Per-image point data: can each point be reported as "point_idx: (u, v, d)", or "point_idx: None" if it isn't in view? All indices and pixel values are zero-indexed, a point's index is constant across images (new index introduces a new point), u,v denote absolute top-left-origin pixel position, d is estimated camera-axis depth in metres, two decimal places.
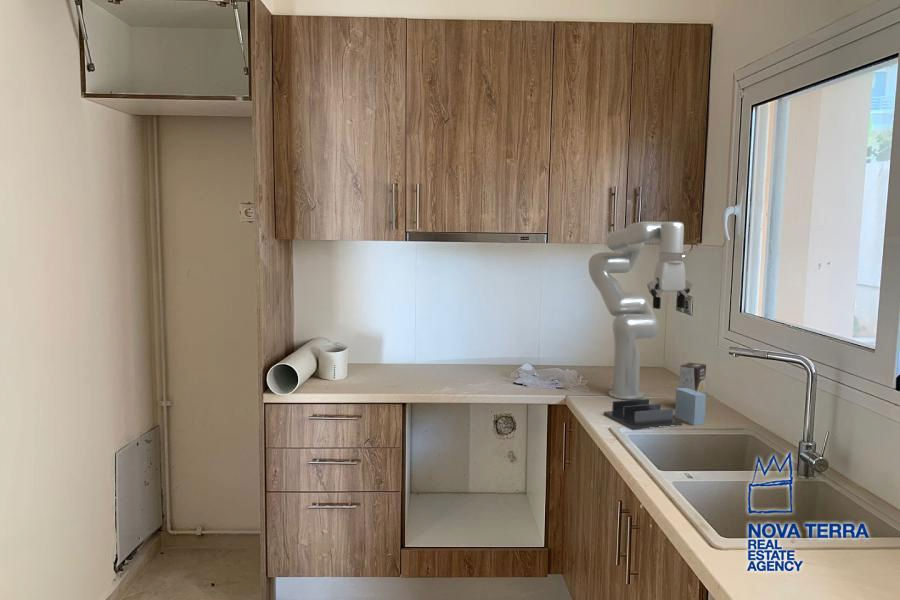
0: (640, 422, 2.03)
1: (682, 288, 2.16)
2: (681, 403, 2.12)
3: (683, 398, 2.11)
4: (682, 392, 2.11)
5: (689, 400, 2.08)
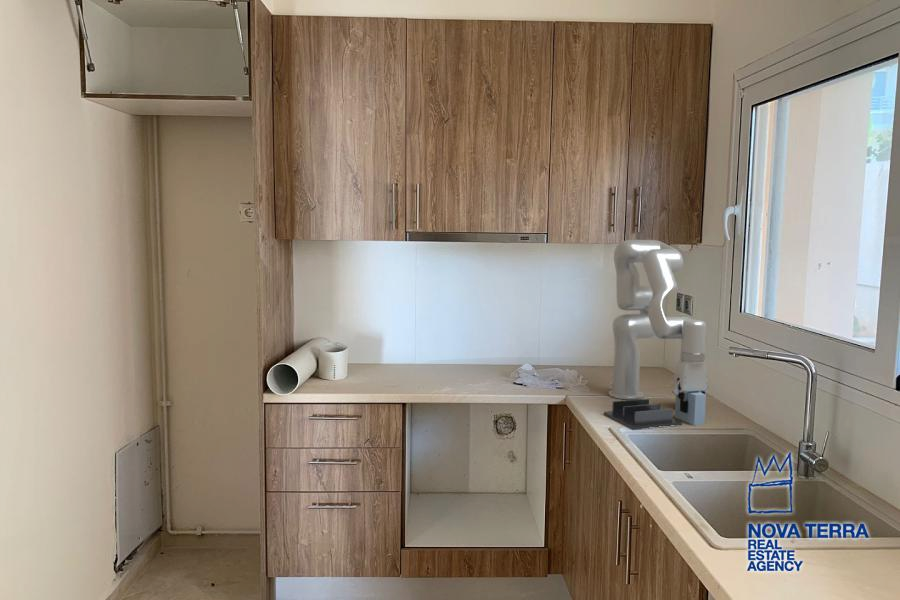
0: (640, 422, 2.03)
1: (704, 388, 2.09)
2: None
3: None
4: None
5: (689, 400, 2.08)
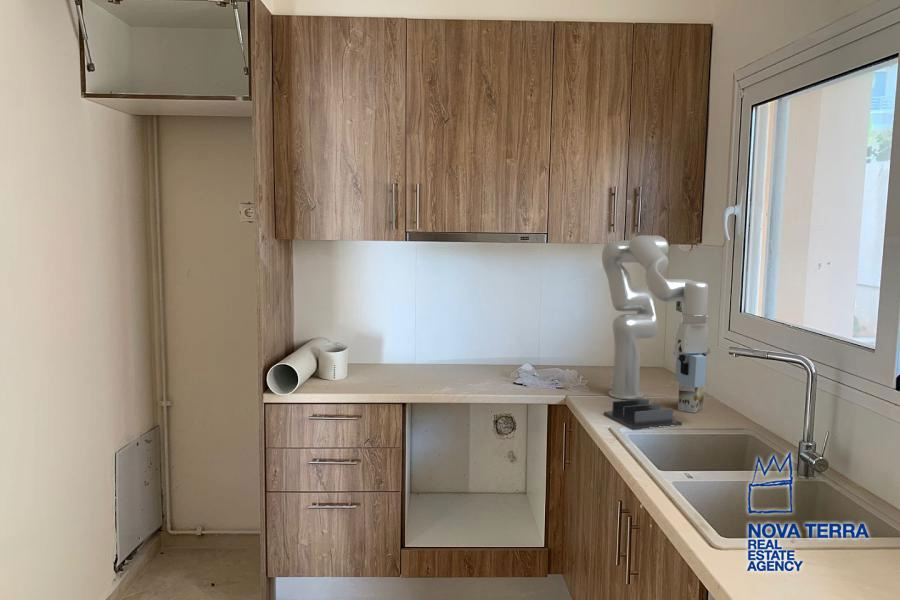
0: (640, 422, 2.03)
1: (705, 350, 2.08)
2: None
3: None
4: None
5: (690, 362, 2.07)
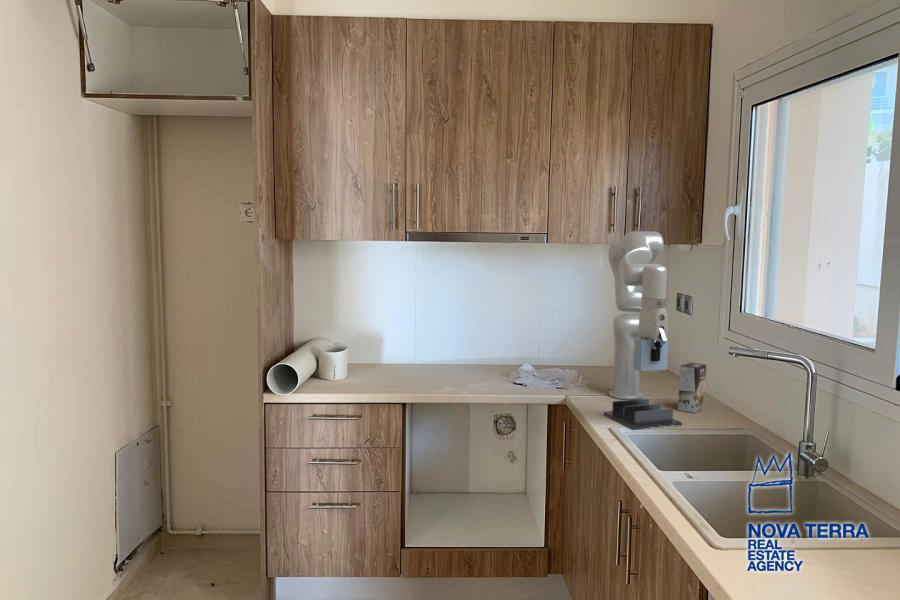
0: (640, 422, 2.03)
1: (653, 337, 2.02)
2: None
3: None
4: None
5: None
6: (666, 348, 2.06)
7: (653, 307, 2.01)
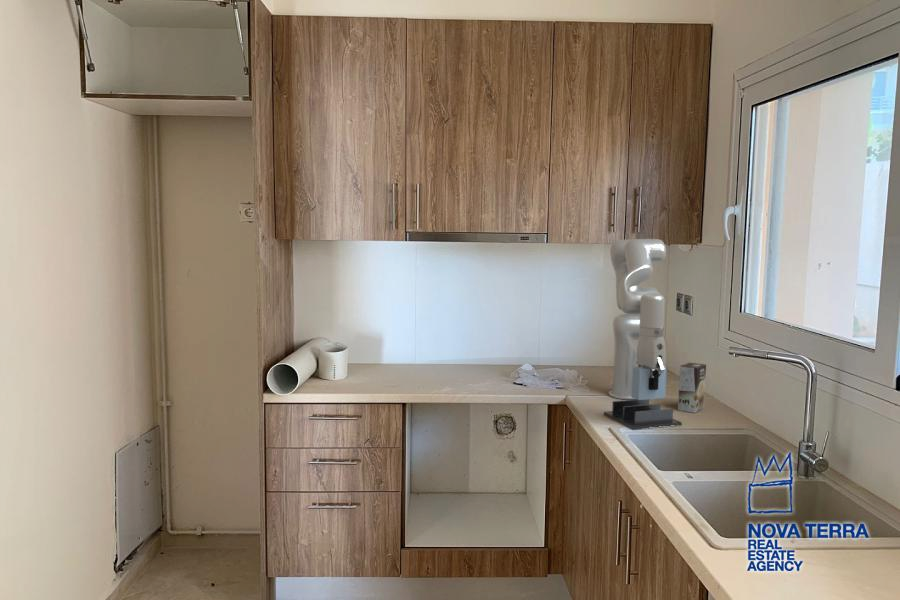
0: (640, 422, 2.03)
1: (651, 366, 2.02)
2: None
3: None
4: None
5: None
6: (664, 377, 2.06)
7: (651, 336, 2.02)
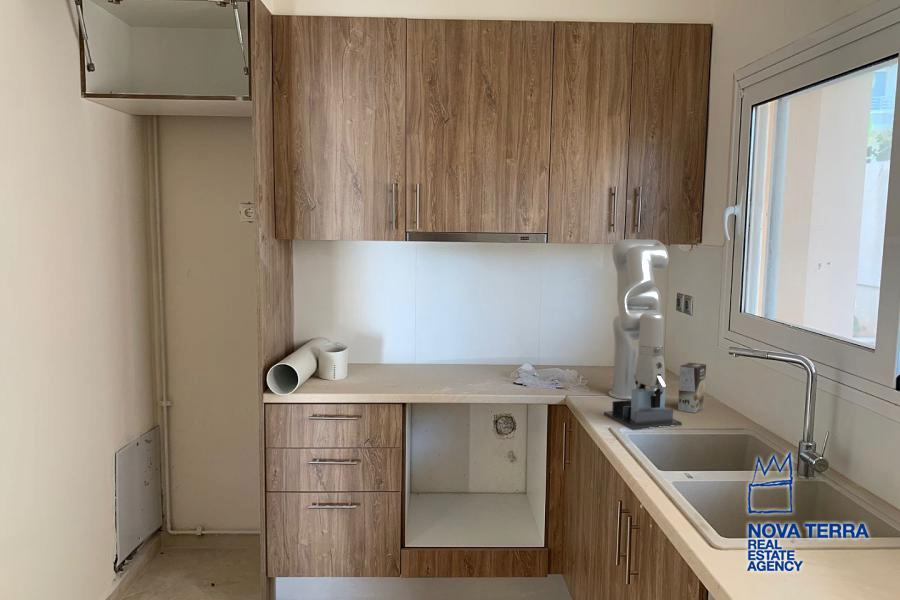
0: (640, 422, 2.03)
1: (650, 384, 2.03)
2: None
3: None
4: None
5: None
6: (663, 399, 2.07)
7: (650, 355, 2.03)
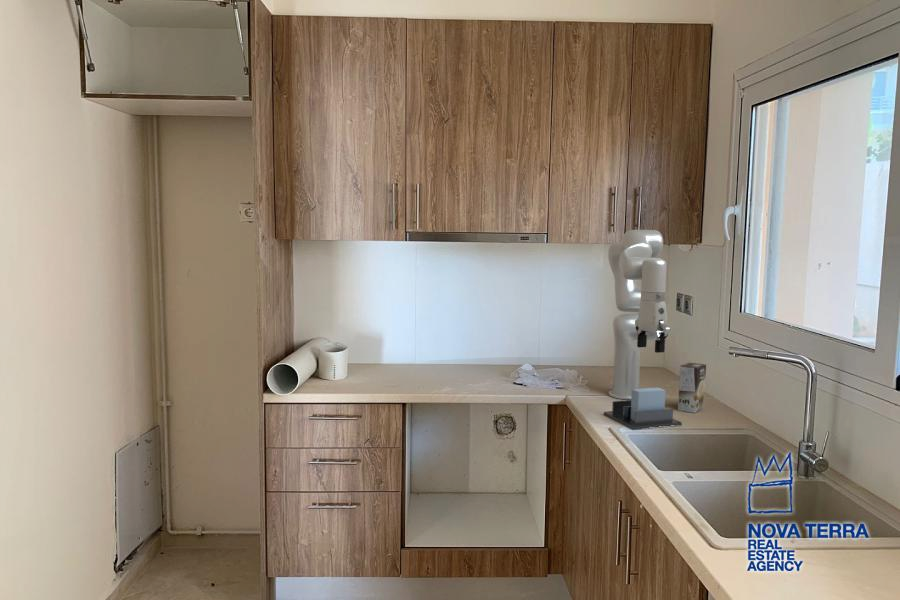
0: (640, 422, 2.03)
1: (652, 330, 2.02)
2: None
3: None
4: None
5: None
6: (663, 399, 2.07)
7: (652, 300, 2.01)
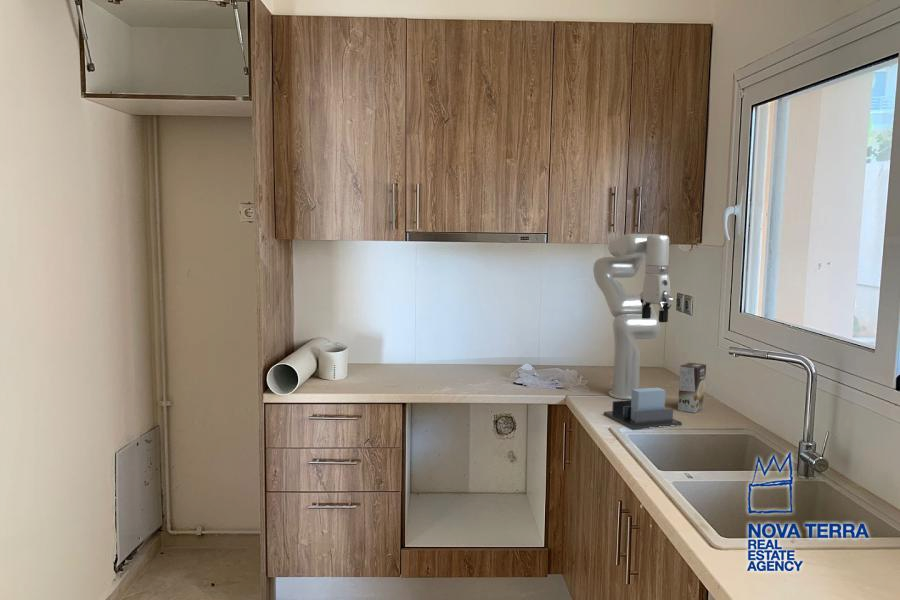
0: (640, 422, 2.03)
1: (656, 301, 2.14)
2: None
3: None
4: None
5: None
6: (663, 399, 2.07)
7: (656, 273, 2.14)
